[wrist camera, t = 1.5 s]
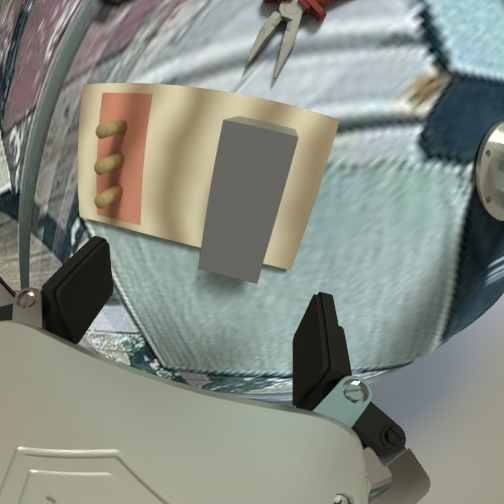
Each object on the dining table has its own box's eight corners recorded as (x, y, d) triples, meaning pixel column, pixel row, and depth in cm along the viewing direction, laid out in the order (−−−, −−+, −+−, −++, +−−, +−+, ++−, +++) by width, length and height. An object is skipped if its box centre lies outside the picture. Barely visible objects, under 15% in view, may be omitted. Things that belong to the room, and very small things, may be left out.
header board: (336, 119, 22) (348, 122, 18) (290, 262, 30) (290, 291, 26) (91, 84, 22) (61, 86, 17) (86, 211, 30) (62, 229, 25)
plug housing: (238, 115, 22) (223, 119, 16) (295, 129, 22) (298, 137, 16) (215, 234, 28) (198, 268, 22) (263, 246, 28) (257, 283, 22)
